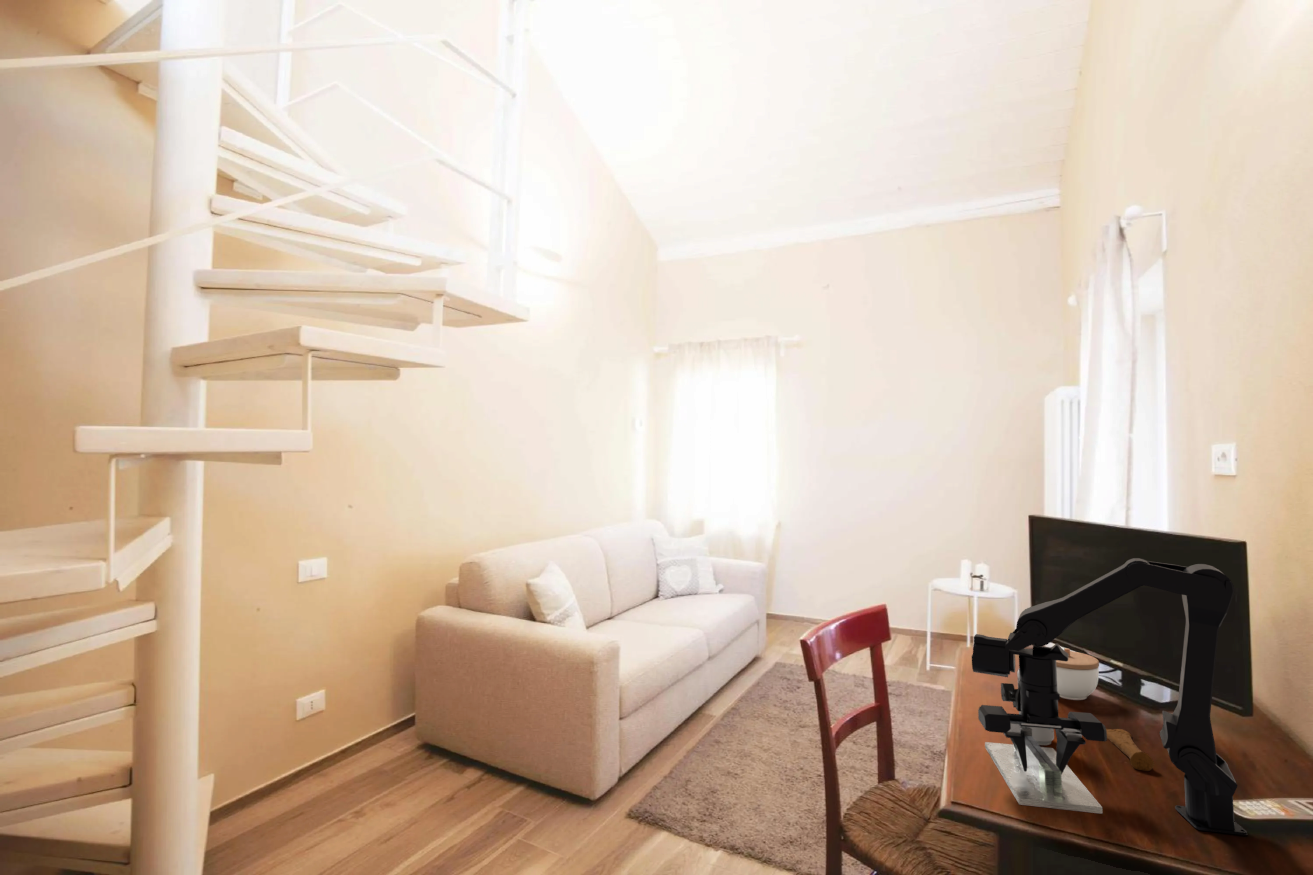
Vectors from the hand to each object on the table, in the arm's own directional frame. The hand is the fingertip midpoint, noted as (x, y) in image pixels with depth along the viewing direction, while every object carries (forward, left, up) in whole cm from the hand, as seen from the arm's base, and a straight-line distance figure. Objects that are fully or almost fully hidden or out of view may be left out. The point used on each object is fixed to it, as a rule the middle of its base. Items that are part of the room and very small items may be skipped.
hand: (1041, 771), depth 110 cm
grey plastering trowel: (+2, 0, -2) cm, 3 cm away
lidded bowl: (+50, -21, -2) cm, 54 cm away
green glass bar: (+2, -1, -1) cm, 2 cm away
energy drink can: (+20, -5, -2) cm, 20 cm away
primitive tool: (+19, -20, -3) cm, 28 cm away
